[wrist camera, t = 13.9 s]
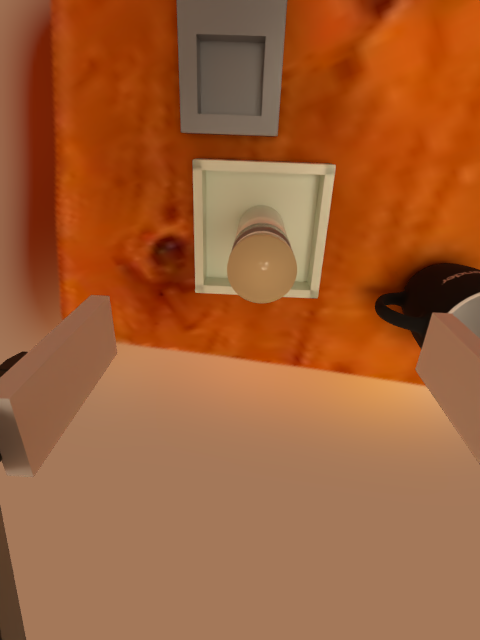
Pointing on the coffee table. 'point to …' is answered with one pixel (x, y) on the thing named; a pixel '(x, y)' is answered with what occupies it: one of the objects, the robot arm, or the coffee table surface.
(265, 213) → the fuse
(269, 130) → the block
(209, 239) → the parts tray
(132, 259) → the coffee table surface
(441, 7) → the coffee table surface
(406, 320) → the mug
